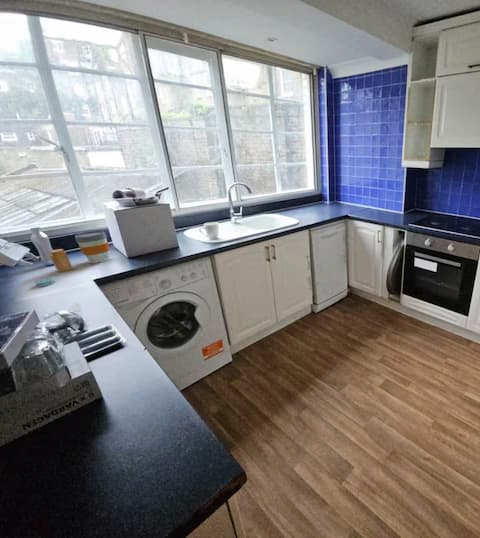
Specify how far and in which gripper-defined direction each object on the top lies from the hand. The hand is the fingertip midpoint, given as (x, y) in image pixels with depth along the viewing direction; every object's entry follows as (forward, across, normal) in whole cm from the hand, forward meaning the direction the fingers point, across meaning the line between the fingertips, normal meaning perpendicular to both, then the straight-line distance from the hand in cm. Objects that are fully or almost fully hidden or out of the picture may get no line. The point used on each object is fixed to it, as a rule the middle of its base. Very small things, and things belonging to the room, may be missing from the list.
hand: (35, 262), depth 143 cm
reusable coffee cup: (+20, -6, +12) cm, 24 cm away
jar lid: (+7, +18, 0) cm, 19 cm away
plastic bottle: (+6, -15, -4) cm, 16 cm away
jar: (+11, 0, +2) cm, 11 cm away
